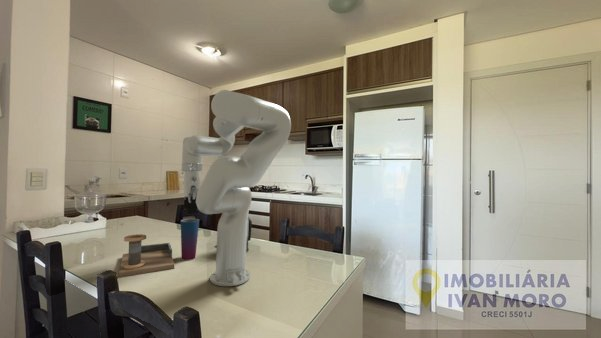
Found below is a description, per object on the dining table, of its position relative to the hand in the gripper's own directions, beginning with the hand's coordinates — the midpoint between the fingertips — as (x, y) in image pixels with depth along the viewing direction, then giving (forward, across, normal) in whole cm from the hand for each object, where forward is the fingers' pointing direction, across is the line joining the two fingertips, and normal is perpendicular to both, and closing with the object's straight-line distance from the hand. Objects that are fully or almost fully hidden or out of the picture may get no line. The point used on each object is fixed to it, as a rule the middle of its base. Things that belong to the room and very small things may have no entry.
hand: (189, 210), depth 100 cm
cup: (+19, -1, 0) cm, 19 cm away
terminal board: (+19, 0, +14) cm, 23 cm away
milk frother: (+19, +3, -19) cm, 27 cm away
